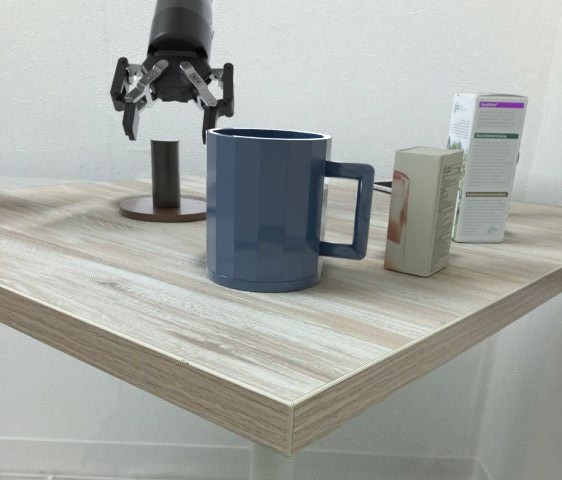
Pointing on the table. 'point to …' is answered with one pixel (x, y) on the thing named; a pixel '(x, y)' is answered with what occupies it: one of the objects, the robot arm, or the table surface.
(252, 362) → the table surface
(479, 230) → the syrup box
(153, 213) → the lid
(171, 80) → the robot arm
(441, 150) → the printed cream carton
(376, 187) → the cell phone
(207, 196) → the blue faceted mug
